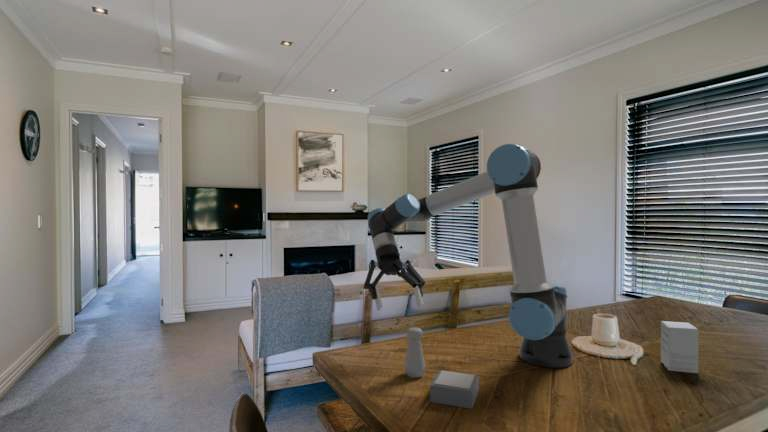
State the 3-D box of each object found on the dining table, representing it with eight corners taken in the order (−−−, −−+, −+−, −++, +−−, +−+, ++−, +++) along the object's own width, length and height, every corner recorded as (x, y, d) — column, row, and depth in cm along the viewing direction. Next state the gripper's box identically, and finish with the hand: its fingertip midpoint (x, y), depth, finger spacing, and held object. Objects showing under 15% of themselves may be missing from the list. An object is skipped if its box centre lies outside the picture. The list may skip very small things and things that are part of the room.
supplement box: (689, 364, 122) (689, 322, 122) (698, 374, 115) (699, 329, 115) (660, 361, 125) (660, 320, 125) (667, 371, 118) (668, 326, 118)
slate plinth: (478, 391, 105) (478, 374, 105) (472, 408, 96) (472, 390, 96) (439, 385, 109) (439, 368, 109) (430, 401, 99) (430, 384, 99)
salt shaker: (423, 380, 112) (423, 332, 112) (402, 378, 113) (402, 331, 113) (426, 371, 117) (426, 326, 117) (406, 370, 119) (406, 325, 118)
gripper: (415, 256, 145) (432, 311, 132) (347, 255, 136) (358, 315, 123) (423, 243, 140) (442, 300, 127) (353, 242, 130) (365, 303, 118)
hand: (400, 307), depth 125 cm, fingers open, 13 cm apart
